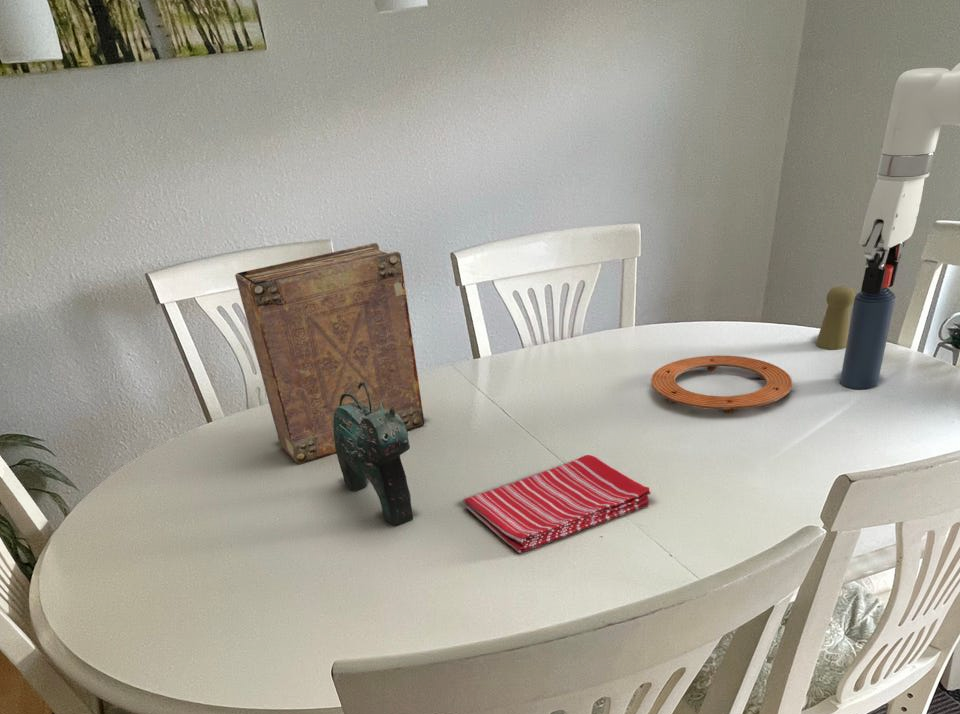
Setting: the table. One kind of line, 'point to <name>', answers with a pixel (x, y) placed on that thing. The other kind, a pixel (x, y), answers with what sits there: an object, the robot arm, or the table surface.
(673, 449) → the table surface
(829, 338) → the olive pawn figure
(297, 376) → the book
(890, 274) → the cap
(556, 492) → the dish towel
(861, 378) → the bottle
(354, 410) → the dark green carved figure
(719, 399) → the ring
